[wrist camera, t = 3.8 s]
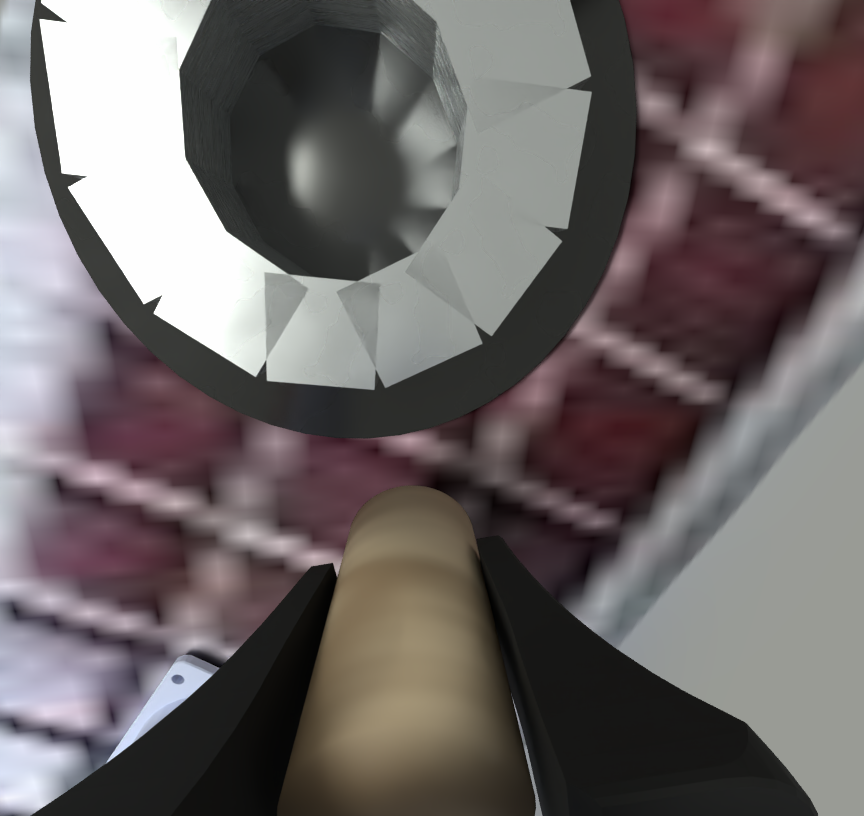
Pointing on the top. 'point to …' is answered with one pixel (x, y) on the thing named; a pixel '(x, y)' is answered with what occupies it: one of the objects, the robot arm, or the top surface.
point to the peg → (409, 677)
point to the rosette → (339, 190)
